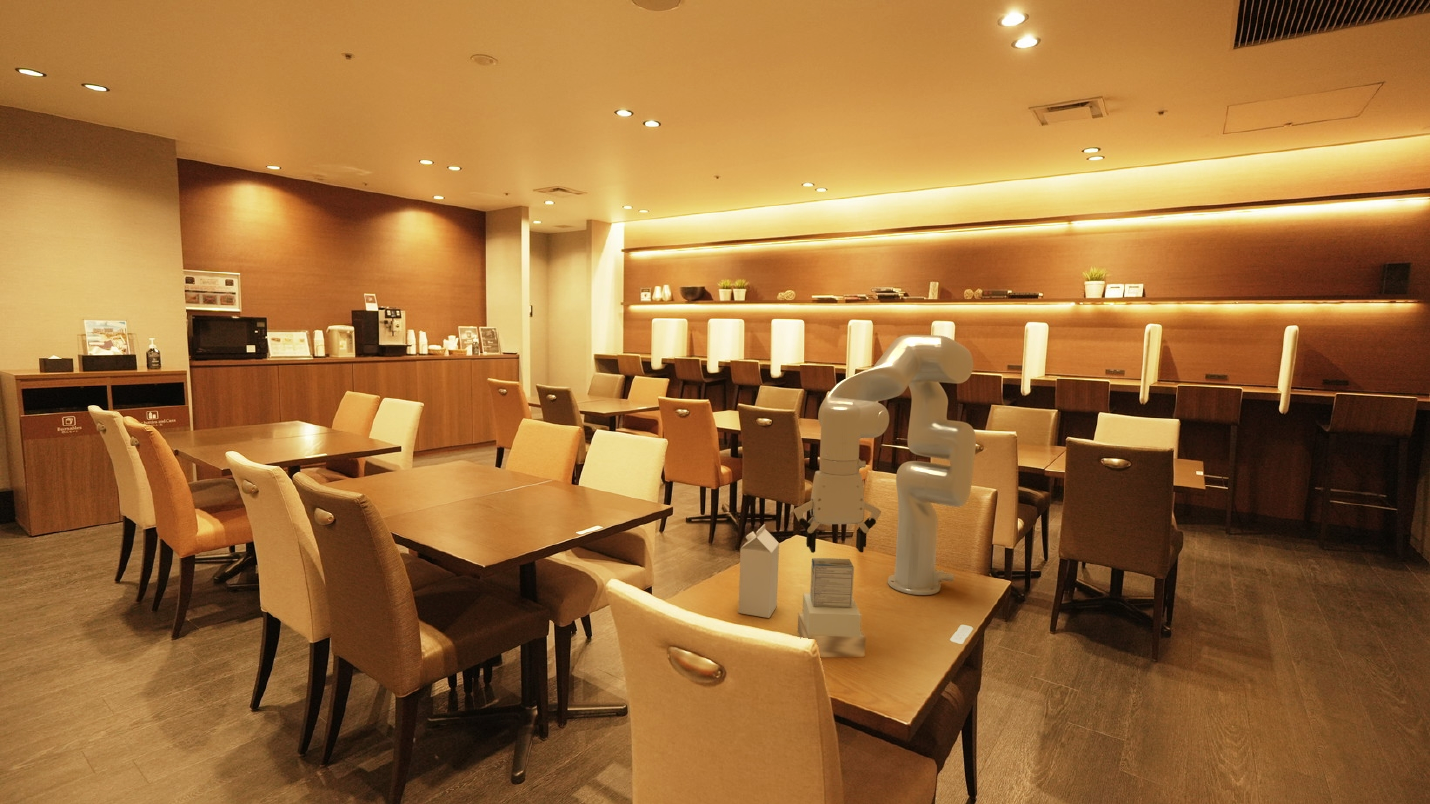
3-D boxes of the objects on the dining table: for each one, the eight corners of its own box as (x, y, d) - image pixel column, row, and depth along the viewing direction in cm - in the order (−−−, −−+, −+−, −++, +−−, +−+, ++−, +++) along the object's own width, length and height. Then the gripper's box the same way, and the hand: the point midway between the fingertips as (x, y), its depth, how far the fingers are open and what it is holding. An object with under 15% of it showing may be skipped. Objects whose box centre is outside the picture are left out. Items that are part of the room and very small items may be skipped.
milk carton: (776, 606, 153) (780, 525, 151) (769, 619, 146) (772, 534, 144) (747, 601, 155) (749, 522, 153) (738, 613, 148) (740, 530, 146)
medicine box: (848, 599, 136) (850, 558, 136) (852, 608, 132) (854, 566, 131) (809, 598, 137) (811, 557, 136) (812, 607, 132) (814, 564, 131)
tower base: (848, 633, 141) (849, 612, 141) (864, 658, 130) (865, 636, 130) (797, 633, 140) (798, 613, 140) (808, 659, 130) (809, 637, 129)
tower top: (850, 615, 140) (851, 594, 139) (860, 637, 130) (861, 614, 129) (802, 613, 140) (803, 592, 139) (808, 635, 130) (809, 613, 129)
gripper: (876, 462, 136) (873, 543, 138) (792, 462, 135) (790, 544, 137) (888, 470, 128) (884, 556, 130) (798, 470, 127) (796, 557, 130)
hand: (835, 550), depth 134 cm, fingers open, 9 cm apart
